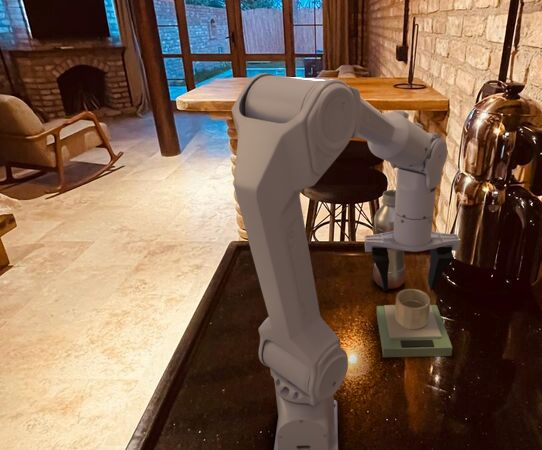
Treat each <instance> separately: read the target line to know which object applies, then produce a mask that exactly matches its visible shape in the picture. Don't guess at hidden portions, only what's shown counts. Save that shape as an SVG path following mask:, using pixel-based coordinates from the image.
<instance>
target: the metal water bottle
mask: <svg viewBox="0 0 542 450" xmlns="http://www.w3.org/2000/svg"><path fill="white" fill-rule="evenodd" d="M395 201H396V189H387V190H385V191H383V193H382V199H381V204H382V205H381V207H379V208H378V209H377V211H376V212H375V214H374V217H373V223H374V224H373V225H374V233H375V235H376V234H381V233H387V232H392V231H394V219H395ZM388 257H389V261H390V262H389V268H388V290H393V289H398V288H400V287H401V286H402V285H403V284H404V283H405V280H406V277H407V271H406V270H407V269H406V263H405V251H404V250H398V249H393V250H388ZM372 277H373V280H374V282H375V283H376V285H377V286H378V287H380V288H383V287H382V278H381V275H380V272H379V270H378V268H377V266H376V264H375V263H374V264H373V268H372Z"/></svg>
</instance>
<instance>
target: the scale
mask: <svg viewBox="0 0 542 450" xmlns="http://www.w3.org/2000/svg"><path fill="white" fill-rule="evenodd" d="M395 307H396V304H385V305H377V306H376V311H375V312H376V320H377V325H378V326H377V327H378V332H379V339H380V346H381V351H382V358H411V357H412V358H415V357H419V358H420V357H421V358H423V357H452V355H453V344H452V342H451V340H450V336H449V334H448V332H447V329H446V327H445V324H444V321H443V319H442V316H441V313H440V310H439V308H438V305H437V304H430V310H429V319H428V323H427V324H426V325H425V326H423V327H422V328H419V329H407V328H405V327H403V326H401V325H400V324H399V323H398V322H397V321H396V319H395Z"/></svg>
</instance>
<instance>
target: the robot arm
mask: <svg viewBox="0 0 542 450" xmlns="http://www.w3.org/2000/svg"><path fill="white" fill-rule="evenodd" d="M230 110H231V115H232V119H233V124H234V127H235V131H236V135H237V144H236V145H237V146H236V154H235V155H236V156H235V166H234V174H233V175H234V176H233V186H234V192H235V196H236V199H237V203H238V207H239V210H240V214H241V218H242V222H243V226H244V229H245V233H246V237H247V240H248V244H249V247H250V248H249V249H250V252H251V255H252V259H253V264H254V266H255V271H256V275H257V278H258V281H259V286H260V289H261V293H262V297H263V300H264V304H265V308H266V311H267V315H268V316H267V317H266V318H265V320H264V321H262V323H261V325H260V326H259V327H258V333H259V346H258V358H259V361H260V363H261V364H262V365H263V366H265V367H267V368H269V371H270V376H271V377H272V378H273V380H274V389H275V390H274V391H275V397H276V398H275V399H276V407H277V416H278V417H277V424H276V431H275V440H274V445H273V450H339V432H338V430H339V428H338V423H339V422H338V401H337V400H336V399H335V394H336V393H337V391H338V390H339V389H340V387H341V386H342V384H343V383H344V381H345V379H346V376H347V373H348V369H349V358H348V354H347V352H346V350H344V349H343V348H342V347H341V342H340V338H339V337H338V335H337V334H336V333H335V332H334V331H333V330H332V328H331V327H330V326H329V325H328V324H327V322H326V321H325V320H324V319H323V318H322V316H321V311H320V306H319V305H320V304H319V300H318V293H317V289H316V288H317V287H316V283H315V282H316V281H315V277H314V272H313V271H314V270H313V266H312V259H311V254H310V253H311V252H310V249H309V243H308V237H307V230H306V225H305V224H306V223H305V220H304V213H303V208H302V202H301V193H302V191H303V190H305V189H308V188H312V187H314V186H315V185H316V184H317V183H318V181H319V180H320V179H321V178H322V177H323V175H324V174H325V173H326V172H327V170H329V168H331V166H332V164H333V163H334V162H335V161H336V159H338V157H339V156H340V155H341V153H343V151H344V150H345V149H346V147H347V146H348V145H349V143H350V141H351V140H354V139H357V138H359V139H361V140H364V141H367V142H366V143H367V146H368V149H369V151H370V152H371V153H372V154H373V155H374V156H375V157H377V158H379V159H381V160H383V161H386V162H388V163H389V164H390V166H391V168H392V169H396V185H395V186H396V187H395V190H396V201H395V219H394V231H392V232H387V233H381V234H376V233H375V234H369V235H364V252H365V253H371V255H372V259H373V262H374V264H376V266H377V268H378V270H379V272H380V275H381V278H382V287H381V288H382V291H384V292H385V291H386V292H388V290H389V289H388V268H389V262H390V261H389V257H388V250H393V249H398V250H404V252H413V253H414V252H415V253H416V252H423V251H428V250H430V261H429V268H428V269H429V270H428V277H427V284H428V287H429V289H430V291H435V290H436V288H437V284H438V282H439V280H440V278H441V276H442V275H443V273H444V272H445V270H446V269H447V268H448V267H449V266H450V265H451V264H452V262H453V260H454V254H453V252H459V251H460V248H461V246H460V245H461V238H460V237H459V235H458V234H457V233H445V232H444V233H443V232H437V231H433V222H434V212H435V201H436V193H437V186H438V185H440V184H441V180H442V172H443V170H444V167H445V164H446V162H447V159H448V153H449V150H448V143H447V141H446V140H445V139H444V138H443V137H442V135H441V134H439V133H433V132H427V131H426V130H424V126H423V125H422V124H421V123H418V122H412V121H411V120H409V119H408V118H409V113H408V112H406V111H405V110H399V109H394V110H393V111H389V112H384V113H382V112H381V111H380V110H378V109H377V108H376V107H374V106H373V105H372V104H371V103H369V102H368V101H367V100H365V99H364V98H363V97H361V93H360V90H359V88H357V87H354V86H350V85H348V84H347V83H346V82H345V81H343V80H341V79H337V78H330V79H329V78H328V79H316V78H303V77H292V76H282V75H276V74H273V73H268V72H264V73H262V72H261V73H258V74H256V75H254V76H253V77H251V78H250V79H249V80H248V81H247V82H246V84H245V85H244V87H243V88H242V90H241V92H240V93H239V95H238V97H237V99H236V100H235V102H234V104H233V105H232V107H231V109H230ZM452 251H453V252H452Z"/></svg>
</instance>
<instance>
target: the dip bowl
mask: <svg viewBox="0 0 542 450" xmlns="http://www.w3.org/2000/svg"><path fill="white" fill-rule="evenodd" d="M395 305H396V307H395V319H396V321H397V322H398V323H399V324H400V325H401V326H403V327H405V328H407V329H419V328H422V327H423V326H425V325H426V324H427V323H428V319H429V310H430V305H431V298H430V296H429V295H428V294H427V292H424V291H423V290H421V289H416V288H406V289H403V290H400V291H399V292H398V293H396V296H395Z"/></svg>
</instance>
